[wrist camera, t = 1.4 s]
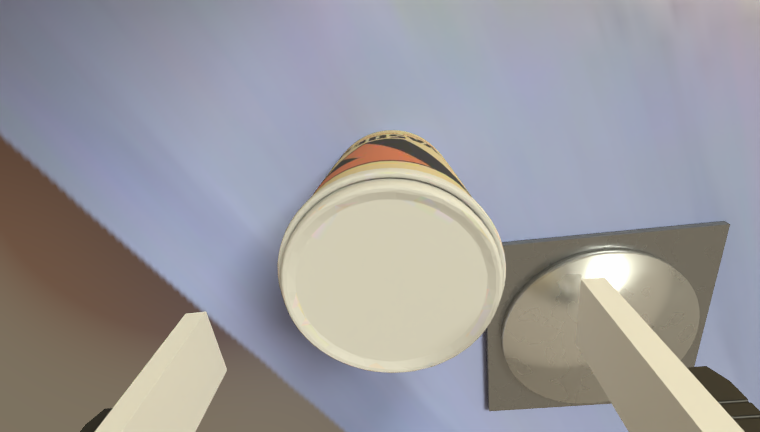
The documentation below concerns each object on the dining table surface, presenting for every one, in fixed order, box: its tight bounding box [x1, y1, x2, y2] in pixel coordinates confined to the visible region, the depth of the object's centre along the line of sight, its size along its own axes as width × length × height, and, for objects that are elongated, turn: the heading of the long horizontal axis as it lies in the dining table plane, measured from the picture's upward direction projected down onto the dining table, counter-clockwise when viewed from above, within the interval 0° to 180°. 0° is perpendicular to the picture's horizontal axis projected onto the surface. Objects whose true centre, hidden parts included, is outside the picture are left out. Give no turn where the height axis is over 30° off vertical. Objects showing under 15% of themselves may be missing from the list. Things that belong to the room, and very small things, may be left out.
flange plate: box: [486, 221, 730, 411], centre depth 30 cm, size 16×16×1 cm
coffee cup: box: [278, 130, 506, 373], centre depth 21 cm, size 9×9×12 cm
